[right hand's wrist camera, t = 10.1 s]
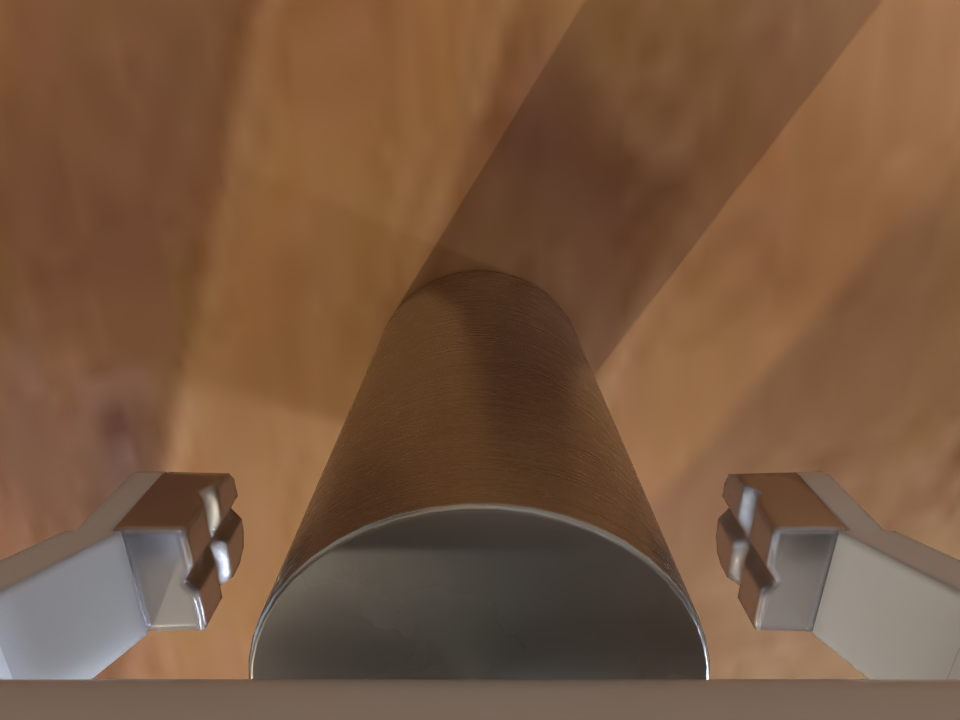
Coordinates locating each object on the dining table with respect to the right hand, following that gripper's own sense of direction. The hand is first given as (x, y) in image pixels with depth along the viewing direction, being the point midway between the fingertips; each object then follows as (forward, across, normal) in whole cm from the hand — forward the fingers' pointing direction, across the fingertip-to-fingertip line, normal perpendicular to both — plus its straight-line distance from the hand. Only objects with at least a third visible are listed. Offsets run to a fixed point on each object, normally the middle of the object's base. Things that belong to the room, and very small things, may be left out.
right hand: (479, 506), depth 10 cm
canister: (+6, 0, 0) cm, 6 cm away
